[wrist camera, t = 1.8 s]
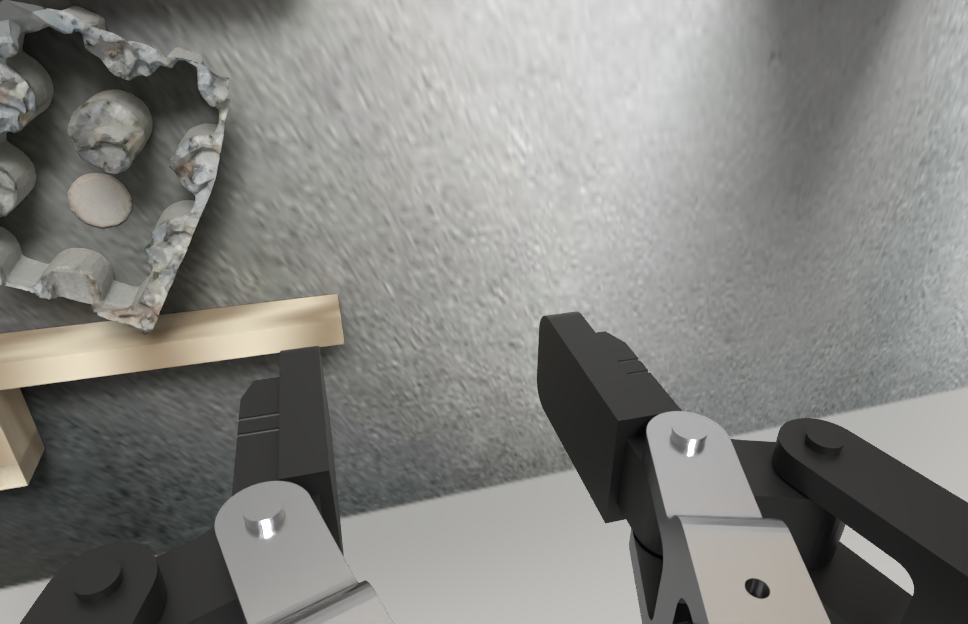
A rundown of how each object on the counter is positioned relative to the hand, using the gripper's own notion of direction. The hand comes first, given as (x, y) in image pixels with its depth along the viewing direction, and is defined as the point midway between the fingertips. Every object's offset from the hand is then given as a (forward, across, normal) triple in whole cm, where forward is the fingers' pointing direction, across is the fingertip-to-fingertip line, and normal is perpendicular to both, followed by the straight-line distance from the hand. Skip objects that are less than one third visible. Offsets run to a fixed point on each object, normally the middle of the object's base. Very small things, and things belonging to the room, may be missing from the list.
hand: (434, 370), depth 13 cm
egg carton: (+18, +10, 0) cm, 20 cm away
